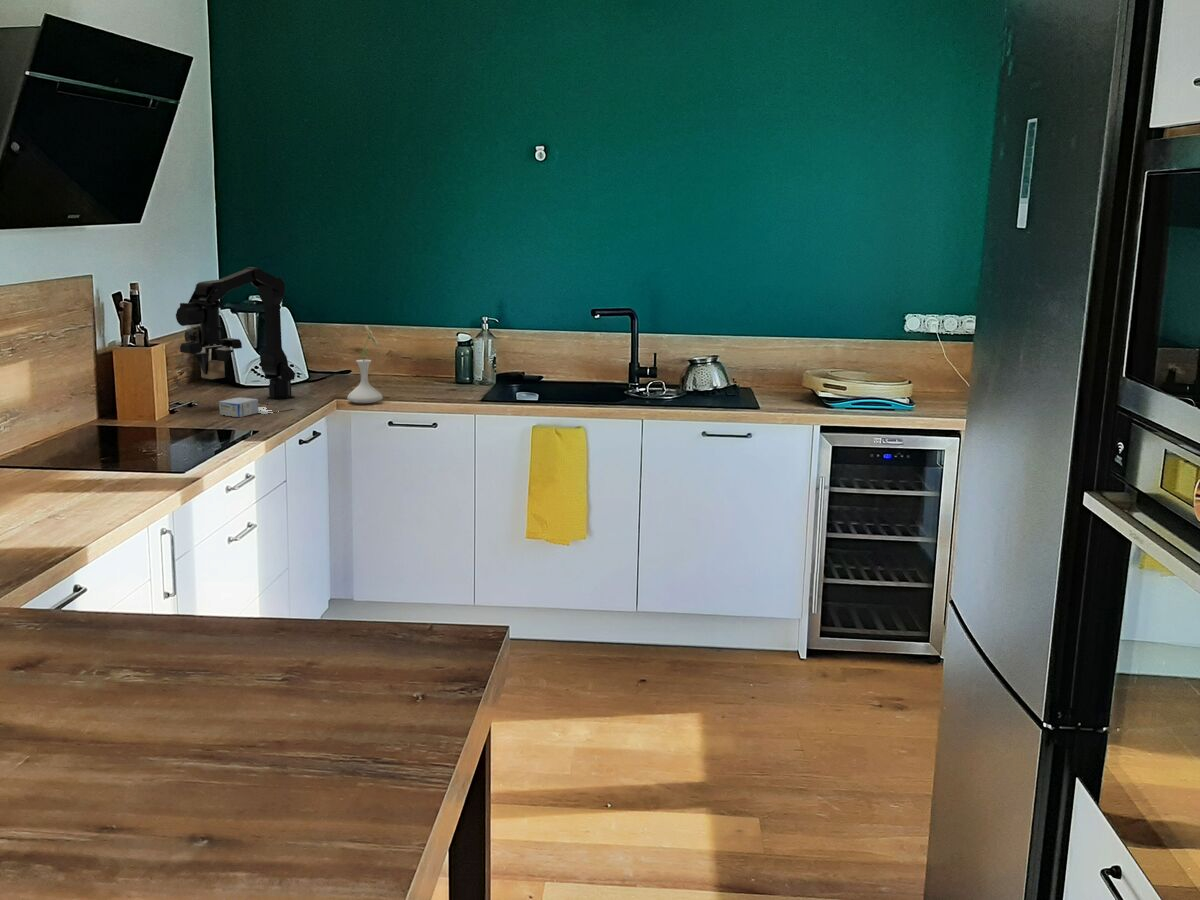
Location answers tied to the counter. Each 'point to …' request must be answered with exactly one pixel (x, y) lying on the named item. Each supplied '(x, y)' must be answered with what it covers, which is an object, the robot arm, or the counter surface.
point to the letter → (264, 410)
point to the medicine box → (238, 407)
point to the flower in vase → (365, 379)
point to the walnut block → (214, 370)
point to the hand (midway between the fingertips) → (212, 373)
